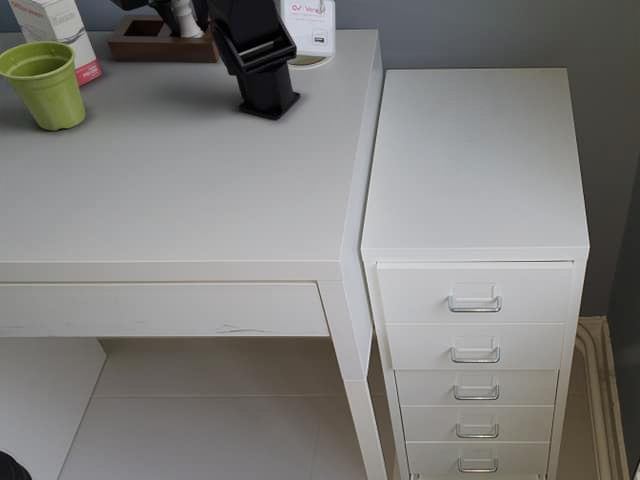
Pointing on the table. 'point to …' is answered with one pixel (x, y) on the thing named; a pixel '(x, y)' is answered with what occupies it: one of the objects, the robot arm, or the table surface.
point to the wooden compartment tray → (159, 42)
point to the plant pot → (45, 82)
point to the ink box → (58, 31)
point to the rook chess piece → (185, 19)
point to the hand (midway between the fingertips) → (191, 34)
